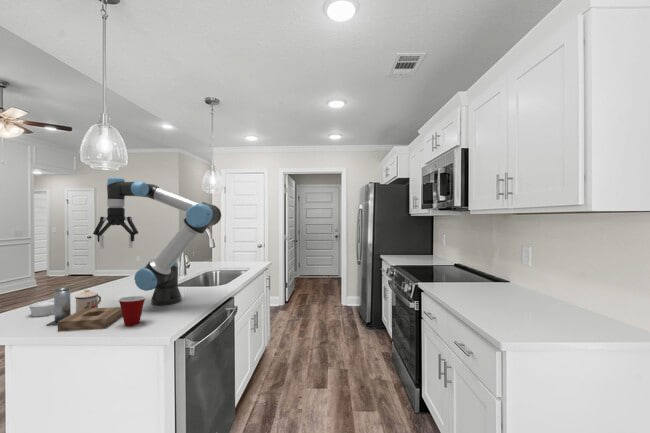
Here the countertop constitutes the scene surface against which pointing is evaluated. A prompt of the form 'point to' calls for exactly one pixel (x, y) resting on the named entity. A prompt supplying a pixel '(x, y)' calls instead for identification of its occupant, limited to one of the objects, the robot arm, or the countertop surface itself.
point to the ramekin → (42, 308)
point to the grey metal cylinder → (61, 303)
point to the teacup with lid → (87, 300)
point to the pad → (52, 323)
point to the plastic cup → (131, 309)
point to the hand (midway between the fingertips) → (116, 248)
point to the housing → (90, 319)
